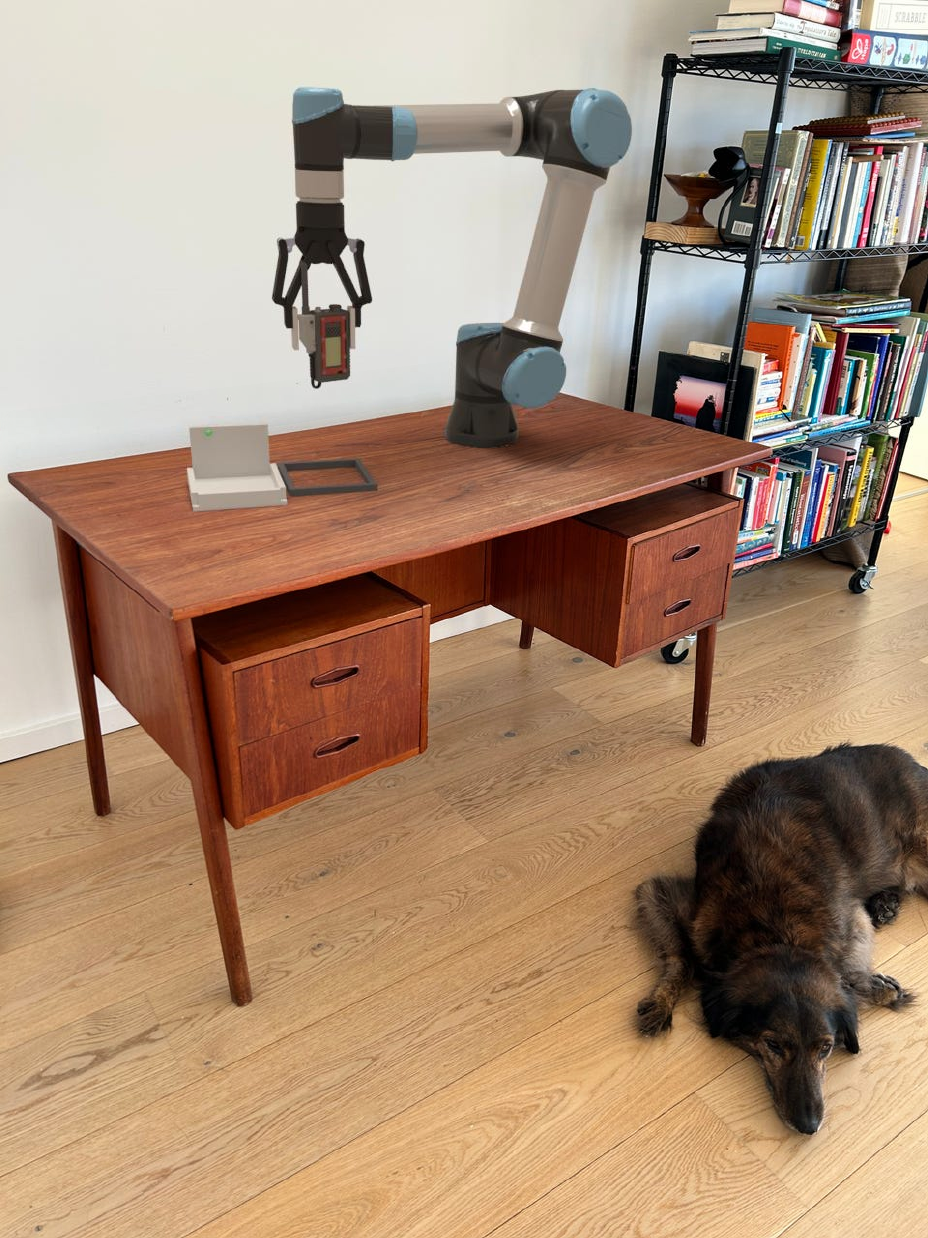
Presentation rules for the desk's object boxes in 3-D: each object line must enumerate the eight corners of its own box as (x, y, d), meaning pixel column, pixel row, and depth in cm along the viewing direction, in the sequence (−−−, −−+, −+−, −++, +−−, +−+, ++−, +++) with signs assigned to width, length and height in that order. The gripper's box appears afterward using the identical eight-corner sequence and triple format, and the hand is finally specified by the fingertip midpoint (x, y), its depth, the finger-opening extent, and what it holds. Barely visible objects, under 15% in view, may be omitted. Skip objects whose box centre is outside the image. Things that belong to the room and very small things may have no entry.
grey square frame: (359, 466, 180) (359, 458, 179) (377, 492, 167) (377, 484, 166) (277, 470, 175) (277, 462, 175) (290, 498, 163) (289, 489, 162)
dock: (275, 477, 172) (272, 422, 167) (287, 506, 159) (285, 447, 154) (188, 482, 167) (182, 426, 163) (193, 512, 155) (188, 452, 150)
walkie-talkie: (306, 391, 159) (301, 263, 150) (293, 386, 163) (288, 260, 154) (352, 386, 164) (350, 261, 155) (339, 380, 167) (336, 258, 158)
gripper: (381, 199, 157) (381, 342, 167) (247, 196, 151) (255, 344, 161) (392, 203, 150) (391, 351, 160) (252, 200, 144) (261, 354, 154)
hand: (323, 347), depth 161 cm, fingers closed on walkie-talkie, 9 cm apart
